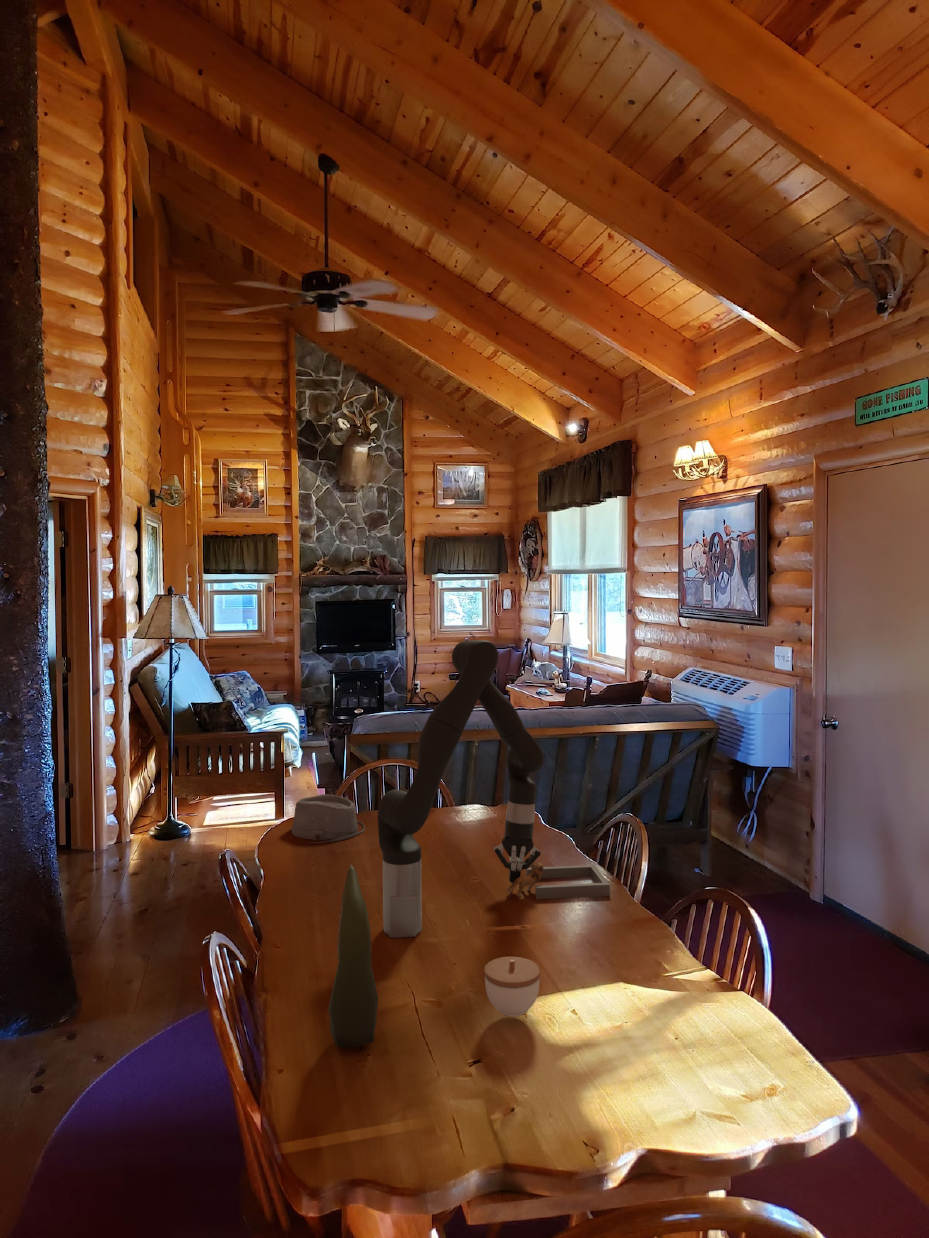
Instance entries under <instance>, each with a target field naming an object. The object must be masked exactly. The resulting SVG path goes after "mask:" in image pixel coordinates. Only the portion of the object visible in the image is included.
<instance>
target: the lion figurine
mask: <svg viewBox="0 0 929 1238" xmlns="http://www.w3.org/2000/svg"><path fill="white" fill-rule="evenodd" d="M543 867H544V865H543V863H540V862H538V863H534V862H533V863H532V865H531V866H530V868H531V869H532V870H531V871H530V872H529V874H528V875H526V874H525V875H520V877H519V878H517V879H516V880H515V882H514V883H513V884H511V885H509V887H508V888H507V889H506V891H507V892H509V894H508V897H509V898H511V896H512V895H513V891H514V889H515V887H517V885H518V886H519V887H518V890H517V892H516V893H517V896H518V897H520V898H521V896H522V894H521V892H522V891H523V890H524V888H525V887H527V891H528V892H531V890H532V889H533V887H535V886H536V883H538V882H540V880H541V876H542V874H543V871H544V868H543Z"/></svg>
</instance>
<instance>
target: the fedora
mask: <svg viewBox="0 0 929 1238" xmlns="http://www.w3.org/2000/svg"><path fill="white" fill-rule="evenodd" d="M358 824H359V825H361V827H362V830H361V831H359V828H358V827H359V826H358ZM365 830H366V828H365V825H364V823H362V822H361V821H358V820H357V815H356V807H355V804H354V802H353V801H352V800H350V799H348V798H346V797H342V796H339V795H334V794H329V793H326V794H320V795H319V794H318V795H315V796H309V797H303V798H301V799H299V800H297V802H296V804H295V806H294V816H293V822H292V825H291V834H292V835H293V836H294V837H297V838H301V839H307V840H311V841H318V842H308V841H307V843H309V844H312V843H314V844H325V843H334V842H339V841H343V840H348V839H351V838H354V837H356V836H359V835H360V834H362V833H363V832H364V831H365Z"/></svg>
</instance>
